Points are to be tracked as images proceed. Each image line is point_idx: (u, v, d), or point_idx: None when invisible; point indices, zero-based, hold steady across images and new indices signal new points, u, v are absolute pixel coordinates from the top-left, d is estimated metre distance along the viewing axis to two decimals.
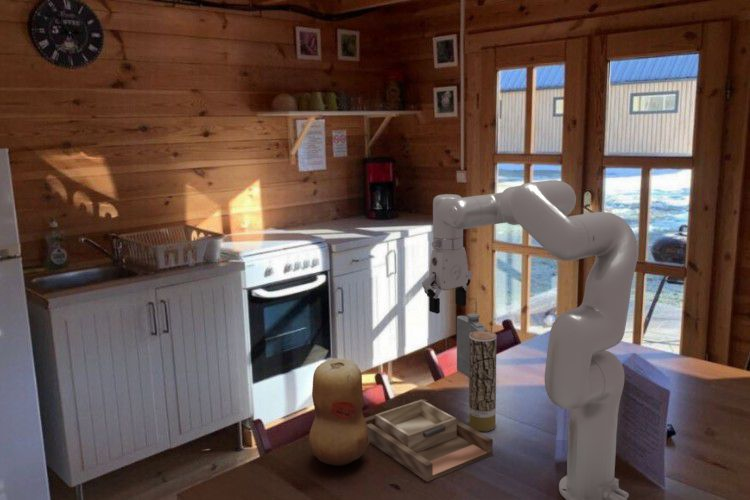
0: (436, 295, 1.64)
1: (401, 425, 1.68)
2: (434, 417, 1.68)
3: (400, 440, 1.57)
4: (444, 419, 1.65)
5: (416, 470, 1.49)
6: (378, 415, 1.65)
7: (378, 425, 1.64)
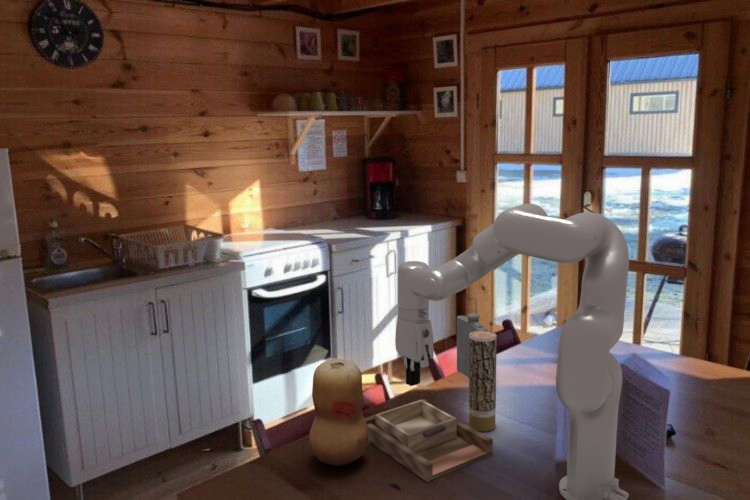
0: None
1: (401, 425, 1.68)
2: (434, 417, 1.68)
3: (400, 440, 1.57)
4: (444, 419, 1.65)
5: (416, 470, 1.49)
6: (378, 415, 1.65)
7: (378, 425, 1.64)
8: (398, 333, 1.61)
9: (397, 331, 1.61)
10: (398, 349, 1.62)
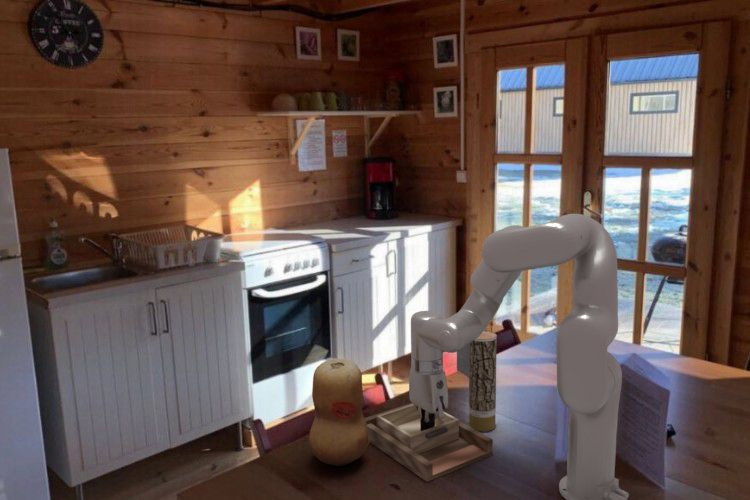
0: None
1: (403, 426, 1.68)
2: None
3: (402, 441, 1.56)
4: (446, 420, 1.64)
5: (416, 470, 1.49)
6: (380, 416, 1.64)
7: (380, 426, 1.64)
8: (412, 383, 1.59)
9: (411, 381, 1.59)
10: (412, 399, 1.60)
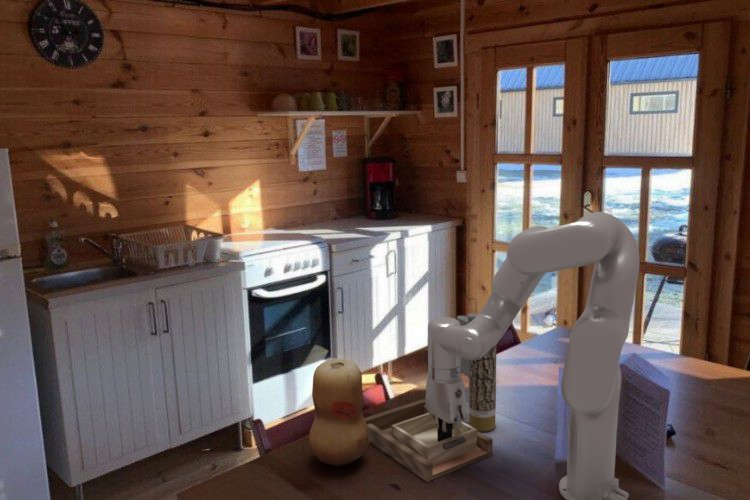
0: None
1: (418, 436, 1.62)
2: None
3: (419, 452, 1.51)
4: (463, 430, 1.59)
5: (416, 470, 1.49)
6: (395, 426, 1.59)
7: (395, 436, 1.59)
8: (428, 392, 1.54)
9: (427, 390, 1.54)
10: (429, 408, 1.55)
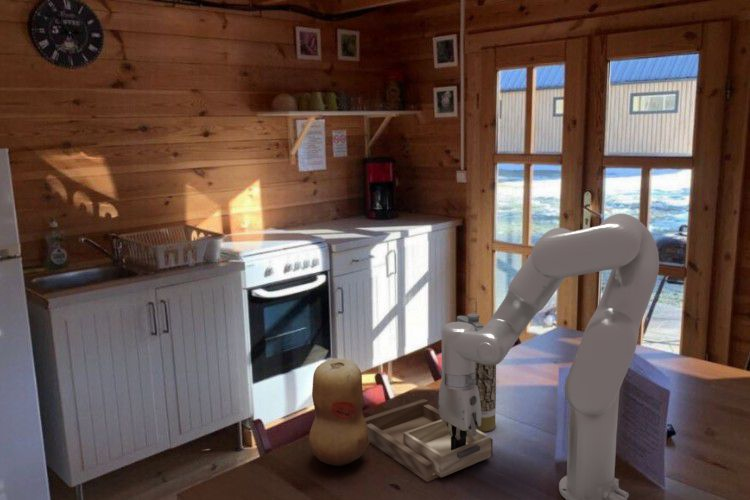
0: None
1: (431, 443, 1.58)
2: None
3: (432, 461, 1.47)
4: (477, 437, 1.55)
5: (416, 470, 1.49)
6: (407, 433, 1.55)
7: (407, 444, 1.55)
8: (442, 398, 1.50)
9: (441, 396, 1.50)
10: (442, 415, 1.51)
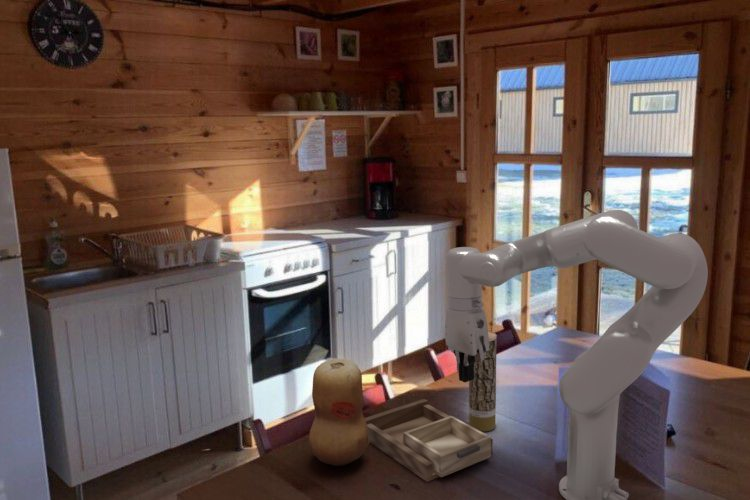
0: None
1: (431, 443, 1.58)
2: (466, 435, 1.59)
3: (432, 461, 1.47)
4: (477, 437, 1.55)
5: (416, 470, 1.49)
6: (407, 433, 1.55)
7: (407, 444, 1.55)
8: (449, 326, 1.49)
9: (447, 324, 1.50)
10: (449, 343, 1.50)
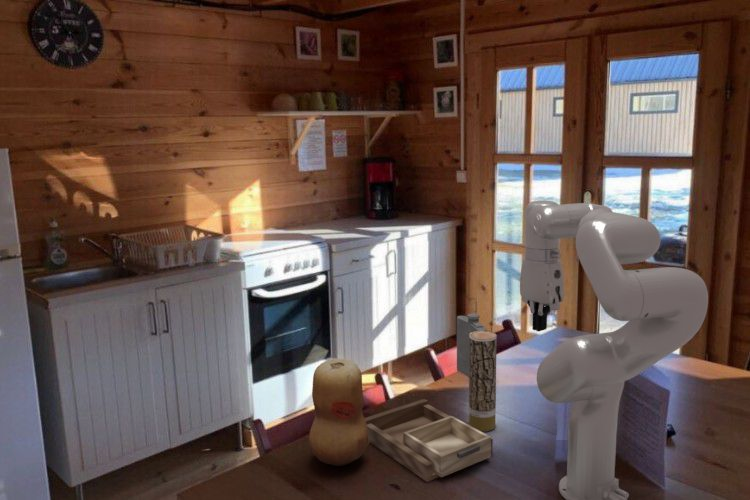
0: None
1: (431, 443, 1.58)
2: (466, 435, 1.59)
3: (432, 461, 1.47)
4: (477, 437, 1.55)
5: (416, 470, 1.49)
6: (407, 433, 1.55)
7: (407, 444, 1.55)
8: (524, 277, 1.55)
9: (523, 275, 1.55)
10: (523, 294, 1.56)
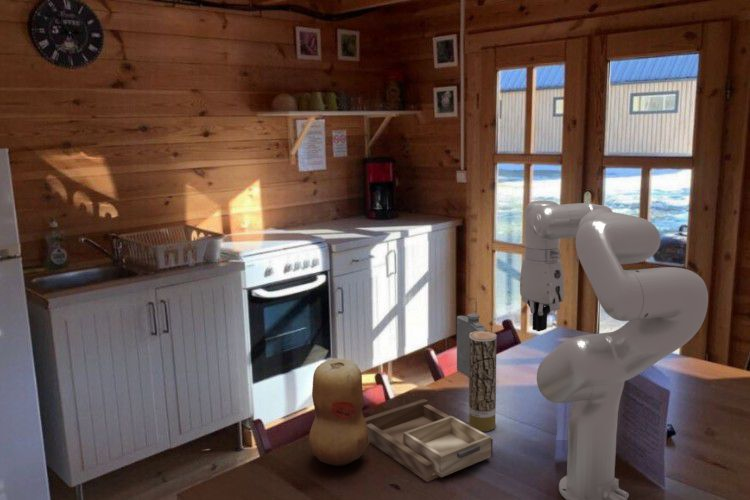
0: None
1: (431, 443, 1.58)
2: (466, 435, 1.59)
3: (432, 461, 1.47)
4: (477, 437, 1.55)
5: (416, 470, 1.49)
6: (407, 433, 1.55)
7: (407, 444, 1.55)
8: (524, 277, 1.55)
9: (523, 275, 1.55)
10: (524, 294, 1.56)
